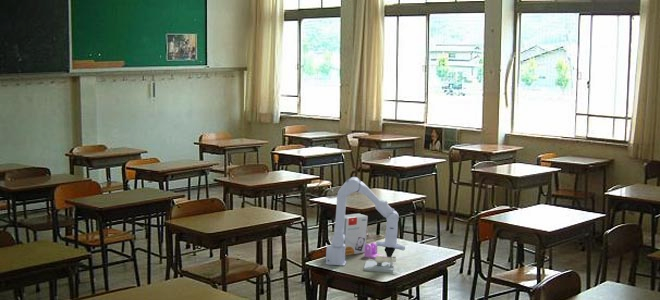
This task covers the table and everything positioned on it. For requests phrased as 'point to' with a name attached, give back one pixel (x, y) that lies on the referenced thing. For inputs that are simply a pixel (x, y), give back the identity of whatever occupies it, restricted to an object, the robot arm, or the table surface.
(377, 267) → the board
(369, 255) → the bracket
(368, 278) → the table surface
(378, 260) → the cream knobbed bar
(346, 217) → the hard drive box
